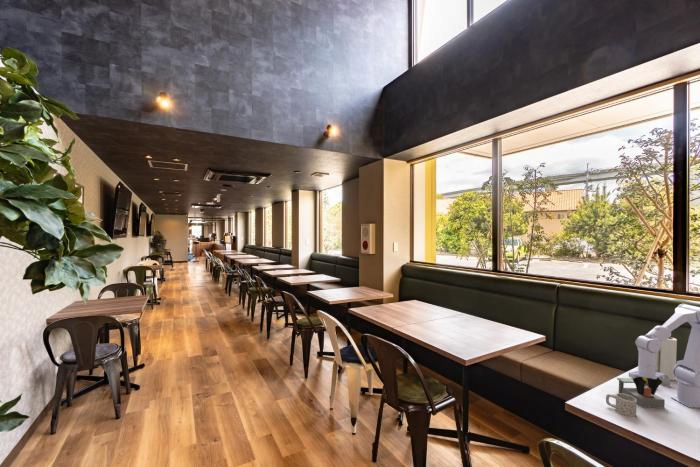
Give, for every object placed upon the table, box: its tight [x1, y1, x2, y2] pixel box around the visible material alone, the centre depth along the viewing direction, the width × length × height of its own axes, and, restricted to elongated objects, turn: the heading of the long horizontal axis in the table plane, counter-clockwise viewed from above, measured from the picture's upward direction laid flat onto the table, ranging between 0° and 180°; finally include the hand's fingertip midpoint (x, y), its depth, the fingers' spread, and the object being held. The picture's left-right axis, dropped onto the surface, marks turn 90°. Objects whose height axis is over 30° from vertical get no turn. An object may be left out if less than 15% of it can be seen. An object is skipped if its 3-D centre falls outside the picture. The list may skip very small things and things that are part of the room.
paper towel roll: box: [656, 336, 678, 381], centre depth 168 cm, size 7×6×21 cm
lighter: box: [656, 370, 671, 388], centre depth 161 cm, size 7×2×8 cm, turn 42°
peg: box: [641, 385, 651, 398], centre depth 142 cm, size 3×3×7 cm
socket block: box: [616, 377, 665, 409], centre depth 145 cm, size 11×12×7 cm
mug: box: [605, 392, 638, 418], centre depth 136 cm, size 10×7×7 cm, turn 44°
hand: (645, 393), depth 142 cm, fingers open, 4 cm apart
